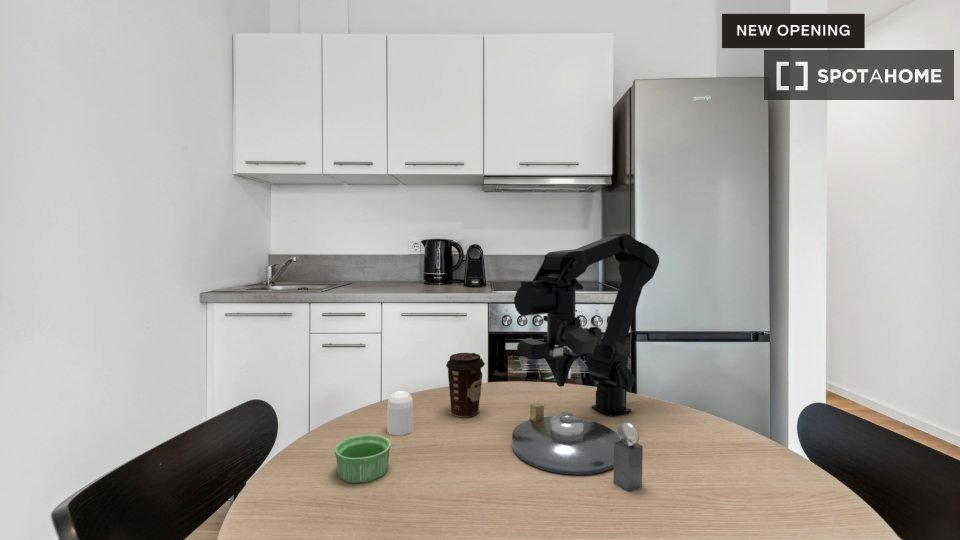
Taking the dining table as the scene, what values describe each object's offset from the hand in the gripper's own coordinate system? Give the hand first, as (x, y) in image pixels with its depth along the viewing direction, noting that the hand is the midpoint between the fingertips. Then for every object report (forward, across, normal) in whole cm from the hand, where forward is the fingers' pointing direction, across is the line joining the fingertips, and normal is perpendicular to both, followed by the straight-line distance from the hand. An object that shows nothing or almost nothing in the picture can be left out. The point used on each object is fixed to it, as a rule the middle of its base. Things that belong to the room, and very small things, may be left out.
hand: (560, 386), depth 92 cm
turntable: (+8, -6, -9) cm, 14 cm away
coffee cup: (+8, -14, +16) cm, 23 cm away
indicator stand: (+8, -6, -24) cm, 26 cm away
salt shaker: (+8, -30, +14) cm, 34 cm away
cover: (+6, -6, -9) cm, 13 cm away
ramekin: (+8, -41, +1) cm, 42 cm away
